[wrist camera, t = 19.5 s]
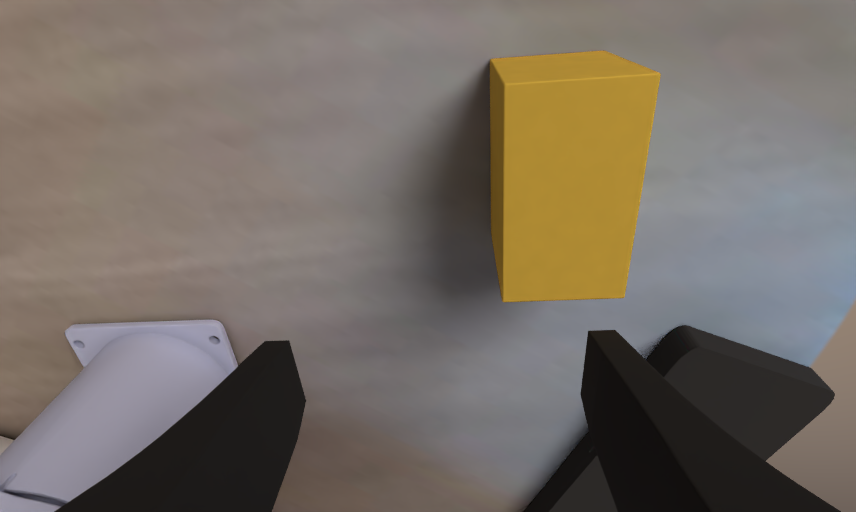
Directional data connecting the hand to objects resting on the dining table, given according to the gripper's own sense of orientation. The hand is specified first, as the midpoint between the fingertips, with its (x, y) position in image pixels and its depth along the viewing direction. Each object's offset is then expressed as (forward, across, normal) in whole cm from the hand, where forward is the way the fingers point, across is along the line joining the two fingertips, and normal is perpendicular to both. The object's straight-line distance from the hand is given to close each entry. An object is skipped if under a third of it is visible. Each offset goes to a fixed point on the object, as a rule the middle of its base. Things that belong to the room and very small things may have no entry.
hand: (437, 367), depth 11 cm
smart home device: (+8, -6, +26) cm, 28 cm away
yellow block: (+9, -4, -2) cm, 10 cm away
